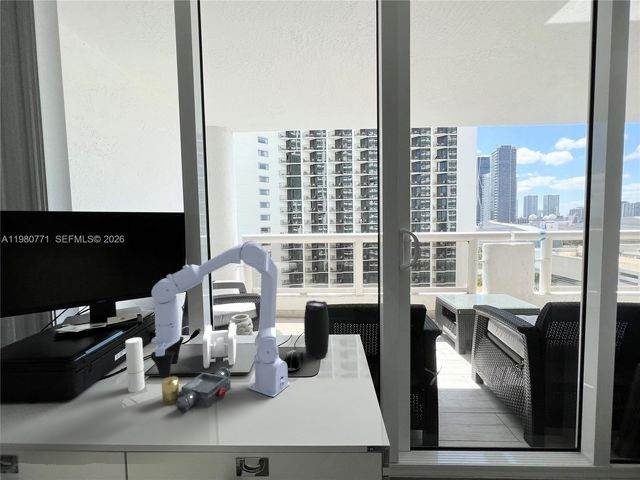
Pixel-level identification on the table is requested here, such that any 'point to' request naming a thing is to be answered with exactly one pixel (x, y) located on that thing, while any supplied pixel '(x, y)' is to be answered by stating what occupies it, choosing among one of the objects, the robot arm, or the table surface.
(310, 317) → the portable speaker
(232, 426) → the table surface
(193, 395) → the valve body
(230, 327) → the cable organizer
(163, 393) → the brass cylinder
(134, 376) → the tube
